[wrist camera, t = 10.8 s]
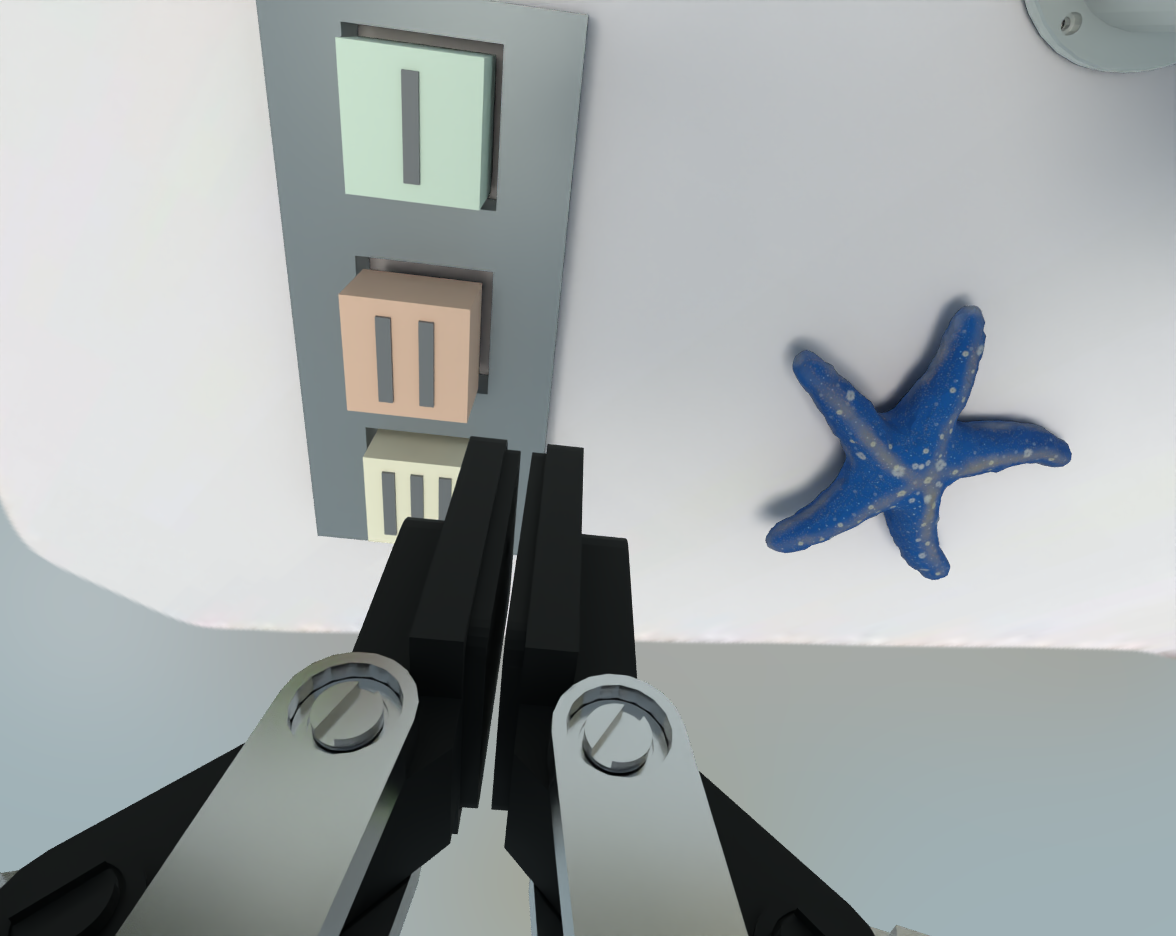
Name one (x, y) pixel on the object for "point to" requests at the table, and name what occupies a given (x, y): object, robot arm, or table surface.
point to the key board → (423, 224)
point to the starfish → (909, 450)
